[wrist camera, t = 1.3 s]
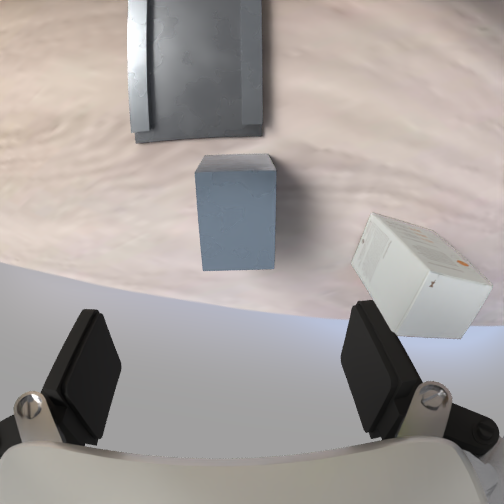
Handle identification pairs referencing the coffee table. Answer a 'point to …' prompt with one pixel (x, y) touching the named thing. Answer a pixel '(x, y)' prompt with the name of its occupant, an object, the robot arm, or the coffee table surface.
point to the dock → (194, 69)
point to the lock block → (236, 211)
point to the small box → (418, 279)
